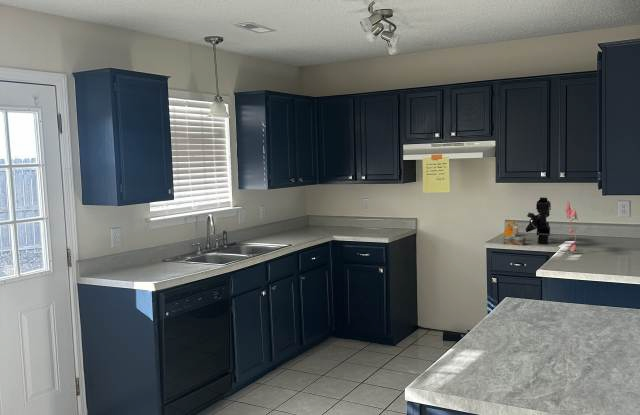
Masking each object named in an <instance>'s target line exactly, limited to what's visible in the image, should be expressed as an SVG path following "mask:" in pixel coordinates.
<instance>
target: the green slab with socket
mask: <svg viewBox="0 0 640 415" xmlns="http://www.w3.org/2000/svg"><path fill="white" fill-rule="evenodd" d="M502 239H503V245H512V246H513V245H514V246H525V245H526V239H527V238H526V237H523V236H518V237H513V236H503V237H502Z"/></svg>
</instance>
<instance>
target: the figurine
mask: <svg viewBox="0 0 640 415" xmlns="http://www.w3.org/2000/svg"><path fill="white" fill-rule="evenodd" d="M576 211H577V210H576V208H573V209H571V202H570V201H568V200H566V206H565V212H566V218H567V219H568V220H570V219H571V220H570V222H569V228H570V229H568V230H569V233H571V234H572V235H574V236H575V237H574V242H570V245H569V246H568V247H567V248H568V250H569V249H570V250H569V252H570V251H573V252H574V251H575V249H576V251H575V252H577V251H578V250H577V248H576V239H577V235H576V234H575V233H574V229H573V228H572V226H571V222H573V220H574V221H575V220H577V221H578V220H579V219H578V214H577V212H576ZM572 217H574V218H572Z"/></svg>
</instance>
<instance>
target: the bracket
mask: <svg viewBox="0 0 640 415" xmlns="http://www.w3.org/2000/svg"><path fill="white" fill-rule="evenodd" d="M514 224H516V223H515V222H514V221H512V220H510V221H508V222H507V224H506V227H505V229H504V232H503V233H502V236H503V237H505V236H513V225H514ZM511 225H512V226H511Z"/></svg>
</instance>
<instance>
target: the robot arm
mask: <svg viewBox="0 0 640 415" xmlns="http://www.w3.org/2000/svg"><path fill="white" fill-rule="evenodd" d="M551 204H552V202H551V201H550V200H548V197H542V196H541V197H539V199H538V200H537V201H536V206H535V209H536V210H537V213H538V214H534V213H533V212H528V213H527V215H526V217H527V218H530V219H528V220H529V224H527V226H526V227H525V232H526V233H528V232H531V231H534V230H536V236H538V237H537V244H539V245H548V244H550V242H549V238H550V236H551V226H550V222H548V221H547V220H548V219H547V218H549V217H550V213H551V212H550V211H551V208H552V205H551Z"/></svg>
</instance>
